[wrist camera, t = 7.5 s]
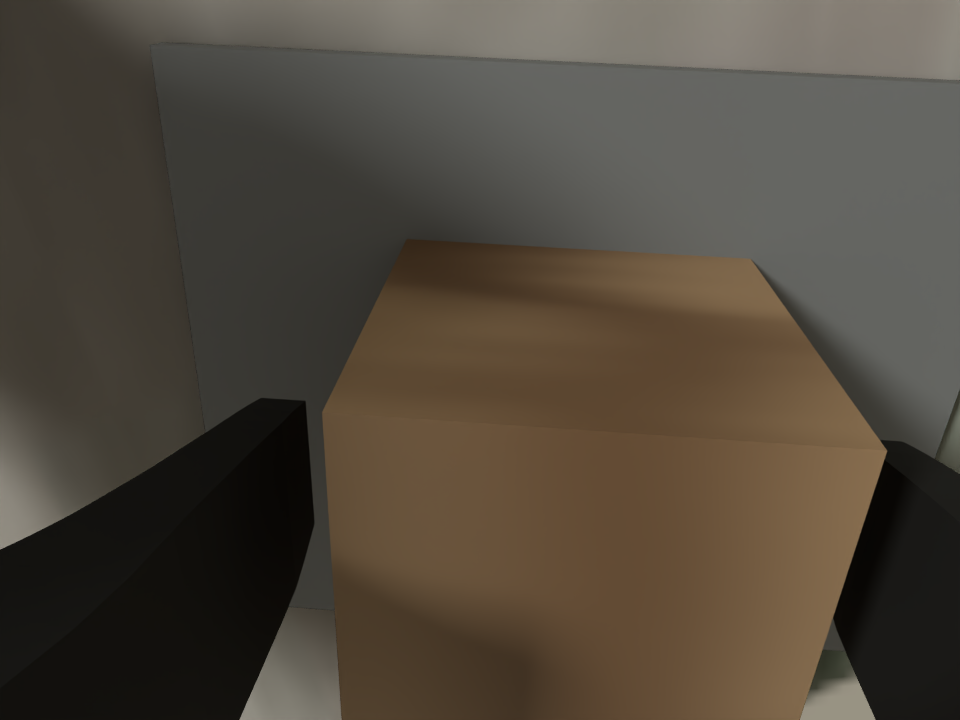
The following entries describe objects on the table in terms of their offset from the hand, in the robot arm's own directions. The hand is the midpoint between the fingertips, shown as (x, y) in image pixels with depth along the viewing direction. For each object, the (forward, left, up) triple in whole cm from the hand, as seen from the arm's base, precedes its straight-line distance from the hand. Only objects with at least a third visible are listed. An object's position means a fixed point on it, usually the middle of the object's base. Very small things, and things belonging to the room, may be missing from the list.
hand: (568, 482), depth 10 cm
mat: (0, 0, -3) cm, 3 cm away
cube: (0, 0, -2) cm, 2 cm away
